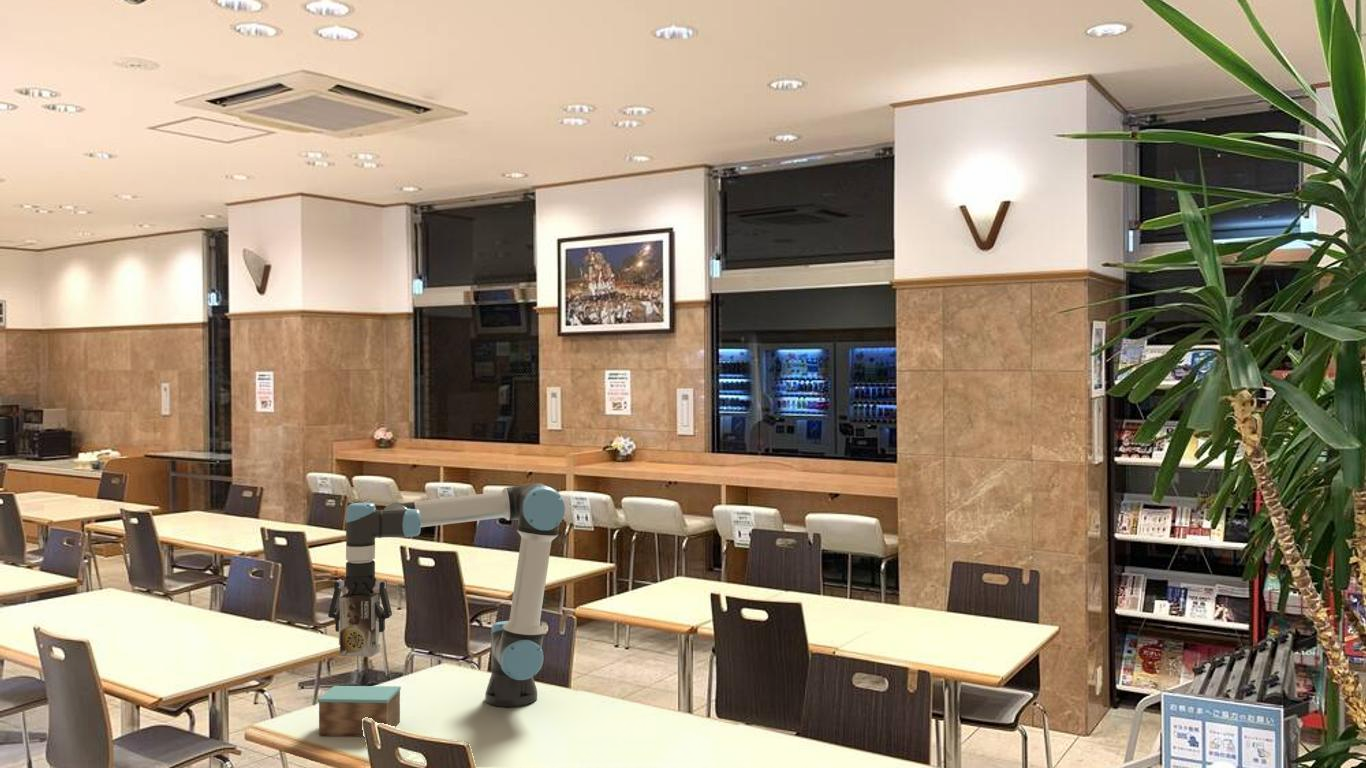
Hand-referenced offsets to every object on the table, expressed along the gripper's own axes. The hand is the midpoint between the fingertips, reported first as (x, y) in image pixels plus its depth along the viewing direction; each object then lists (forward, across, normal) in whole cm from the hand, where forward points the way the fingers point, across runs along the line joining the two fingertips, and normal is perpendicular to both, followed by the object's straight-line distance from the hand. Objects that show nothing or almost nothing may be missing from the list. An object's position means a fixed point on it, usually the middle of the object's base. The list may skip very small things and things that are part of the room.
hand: (360, 643), depth 283 cm
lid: (+14, 0, 0) cm, 14 cm away
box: (+23, 0, 0) cm, 23 cm away
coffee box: (+3, 0, 0) cm, 3 cm away
